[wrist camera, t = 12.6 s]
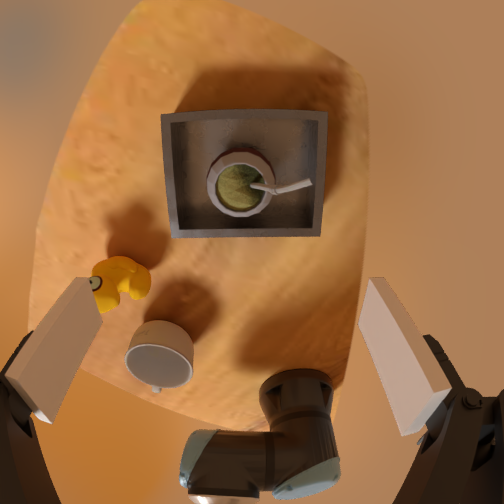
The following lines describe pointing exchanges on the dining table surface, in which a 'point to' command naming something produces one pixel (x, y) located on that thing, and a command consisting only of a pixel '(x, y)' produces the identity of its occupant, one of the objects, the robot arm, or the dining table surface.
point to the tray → (240, 136)
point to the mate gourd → (244, 182)
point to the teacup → (160, 355)
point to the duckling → (118, 281)
